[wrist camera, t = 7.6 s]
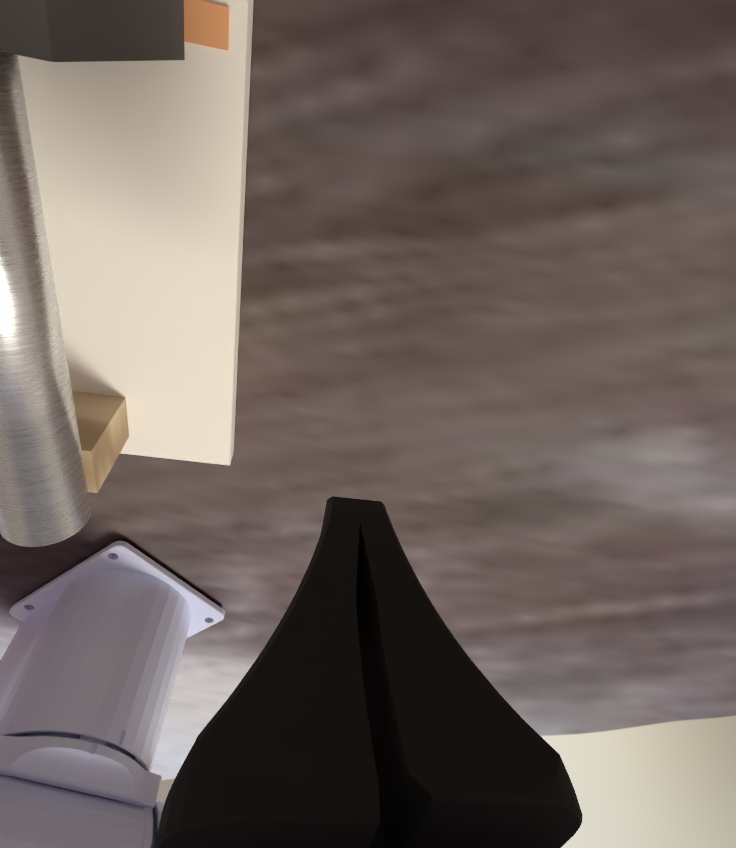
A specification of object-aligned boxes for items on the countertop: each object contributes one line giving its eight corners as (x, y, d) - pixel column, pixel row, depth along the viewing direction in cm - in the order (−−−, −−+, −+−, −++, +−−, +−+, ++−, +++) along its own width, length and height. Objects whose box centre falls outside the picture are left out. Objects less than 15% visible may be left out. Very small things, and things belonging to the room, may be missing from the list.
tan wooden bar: (129, 436, 23) (97, 492, 20) (70, 429, 22) (29, 486, 19) (60, -288, 12) (-37, -407, 9) (-59, -323, 11) (-201, -457, 8)
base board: (233, 451, 25) (229, 466, 24) (-21, 422, 23) (-35, 437, 22) (265, -277, 12) (259, -303, 12) (-268, -435, 11) (-322, -479, 10)
